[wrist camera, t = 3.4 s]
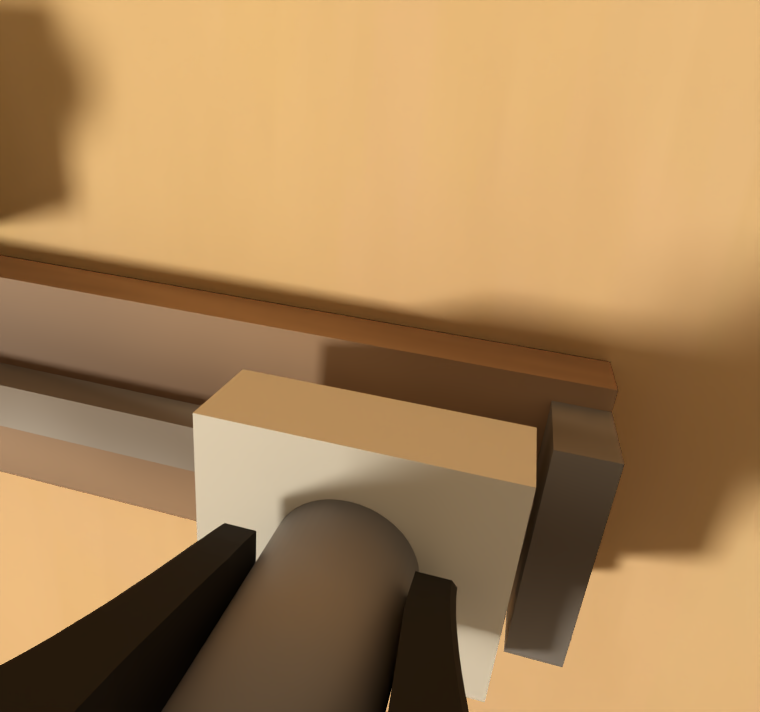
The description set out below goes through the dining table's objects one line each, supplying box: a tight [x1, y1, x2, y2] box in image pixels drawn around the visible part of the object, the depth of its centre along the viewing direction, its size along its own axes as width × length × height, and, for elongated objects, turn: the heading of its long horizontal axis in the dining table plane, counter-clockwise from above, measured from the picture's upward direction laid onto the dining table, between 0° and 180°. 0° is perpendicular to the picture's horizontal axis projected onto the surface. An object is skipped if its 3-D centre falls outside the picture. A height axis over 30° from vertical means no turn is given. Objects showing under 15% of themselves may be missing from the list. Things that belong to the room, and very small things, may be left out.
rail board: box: [0, 255, 624, 667], centre depth 15 cm, size 6×22×4 cm, turn 84°
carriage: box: [161, 369, 537, 712], centre depth 10 cm, size 5×6×6 cm
